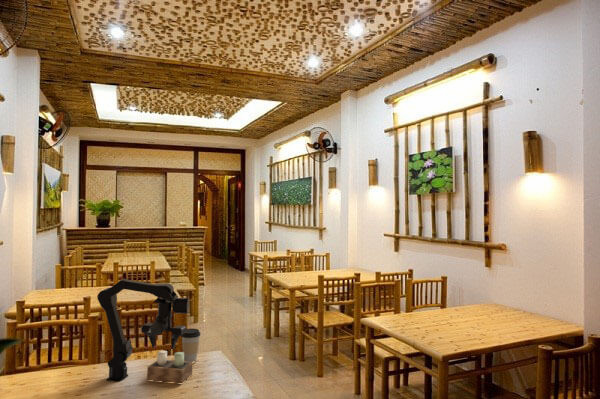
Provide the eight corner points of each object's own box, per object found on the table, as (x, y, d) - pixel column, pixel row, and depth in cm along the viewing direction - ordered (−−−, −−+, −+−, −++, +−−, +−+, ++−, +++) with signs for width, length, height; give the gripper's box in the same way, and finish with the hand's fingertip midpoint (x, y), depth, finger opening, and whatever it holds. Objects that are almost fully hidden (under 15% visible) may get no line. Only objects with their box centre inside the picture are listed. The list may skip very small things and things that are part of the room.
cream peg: (155, 366, 179) (155, 353, 179) (160, 362, 183) (160, 350, 183) (163, 367, 178) (164, 354, 178) (168, 363, 182) (168, 351, 182)
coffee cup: (203, 361, 201) (204, 330, 201) (189, 367, 193) (190, 334, 193) (190, 357, 206) (191, 326, 206) (175, 362, 198) (176, 331, 198)
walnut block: (147, 381, 176) (147, 366, 176) (158, 372, 186) (159, 358, 186) (181, 384, 173) (182, 369, 173) (192, 375, 183) (192, 361, 183)
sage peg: (172, 367, 177) (172, 354, 177) (176, 364, 181) (177, 351, 181) (181, 368, 177) (181, 355, 177) (185, 365, 181) (185, 352, 181)
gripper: (135, 315, 174) (133, 352, 173) (176, 319, 171) (174, 357, 171) (148, 309, 185) (146, 344, 184) (187, 312, 182) (185, 348, 182)
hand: (162, 348), depth 180 cm, fingers open, 9 cm apart
